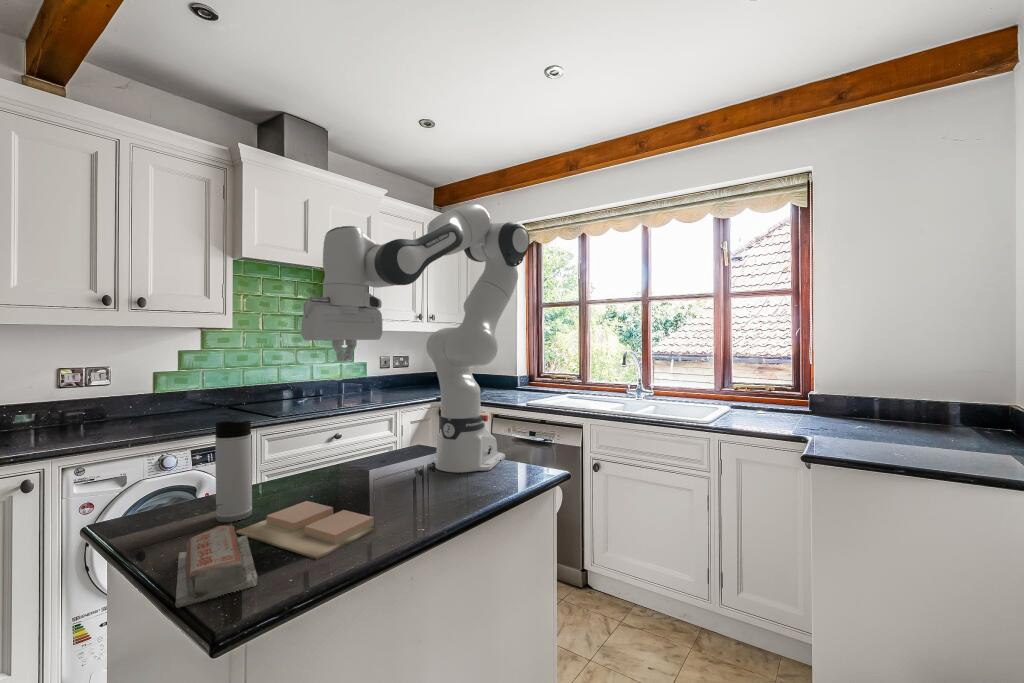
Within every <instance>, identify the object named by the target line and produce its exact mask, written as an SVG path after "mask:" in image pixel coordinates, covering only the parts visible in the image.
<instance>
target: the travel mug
mask: <svg viewBox="0 0 1024 683" xmlns="http://www.w3.org/2000/svg"><path fill="white" fill-rule="evenodd" d="M251 424H252V420H243V421H235V420H222V421H217V422H216V421H215V437H214V439H215V448H214V450H215V454H214V455H215V512H216V514H215V518H216V521H217V522H219V523H225V522H226V523H235V522H239V521H238V520H240V521H243V520H245V519H247V518H249V517H250V516H252V514H253V489H252V488H253V487H252V486H253V482H252V481H253V479H252V478H253V476H252V471H253V470H252V463H253V462H252V437H251V436H252V431H251V429H252V425H251ZM242 519H243V520H242ZM234 521H235V522H234Z"/></svg>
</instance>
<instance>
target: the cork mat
mask: <svg viewBox="0 0 1024 683" xmlns="http://www.w3.org/2000/svg"><path fill="white" fill-rule="evenodd" d="M375 529H376V528H375V527H374V526H372V527H370V528H368V529H365V530H363V531H361V532H359V533H357V534H355V535H353V536H351V537H349V538H347V539H345V540H343V541H341V542H339V543H337V544H333V543H330V542H327V541H323V540H320V539H316V538H313V537H310V536H306V535H305V527H304V528H302V529H300V530H297V531H295V532H293V531H289V530H286V529H283V528H279V527H276V526H272V525H269V524H267V519H264V520H261V521H259V522H256V523H253V524H251V525H248V526H245V527H243V528H240V529H238V530H236V531H235V534H236V535H241V536H247V538H250V539H253V540H255V541H259V542H262V543H265V544H267V545H271V546H274V547H277V548H280V549H283V550H286V551H290V552H292V553H295V554H298V555H299V554H300V555H302V556H305V557H308V558H310V559H314V558H315V559H314V560H318V559H320V558H323V557H324V556H326V555H328V554H331V553H332V552H335V551H337V550H338V549H340V548H342V547H344V546H346V545H349V544H350V543H352V542H354V541H356V540H357V539H359V538H362V537H363V536H366V535H368V534H370V533H371V532H374V531H375Z"/></svg>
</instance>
